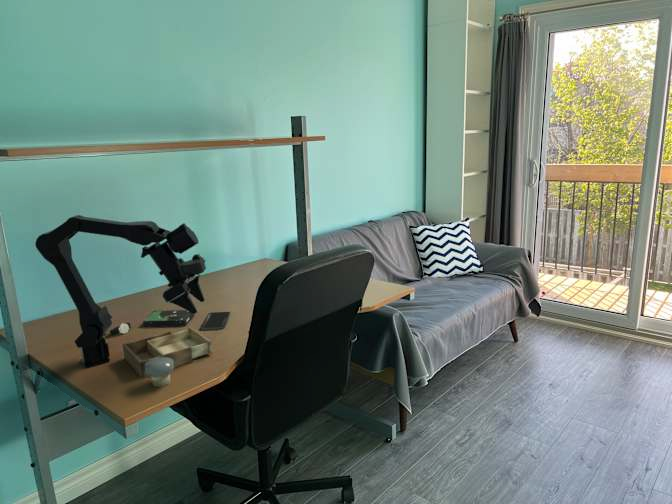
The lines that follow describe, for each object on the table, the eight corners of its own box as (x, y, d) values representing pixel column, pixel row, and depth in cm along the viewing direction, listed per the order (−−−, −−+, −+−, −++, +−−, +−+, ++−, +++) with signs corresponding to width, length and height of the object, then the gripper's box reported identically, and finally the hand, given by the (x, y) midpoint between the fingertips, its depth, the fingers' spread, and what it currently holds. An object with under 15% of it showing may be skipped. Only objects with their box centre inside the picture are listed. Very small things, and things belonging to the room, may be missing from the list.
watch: (117, 338, 161) (115, 327, 160) (106, 336, 162) (104, 326, 162) (134, 329, 168) (133, 319, 167) (124, 327, 169) (122, 317, 168)
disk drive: (195, 317, 179) (154, 317, 179) (194, 309, 178) (153, 310, 178) (186, 328, 169) (142, 328, 169) (185, 320, 168) (141, 320, 168)
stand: (156, 388, 127) (154, 376, 126) (150, 382, 130) (148, 370, 130) (173, 382, 130) (171, 370, 129) (166, 376, 133) (165, 364, 132)
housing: (142, 378, 133) (140, 362, 132) (124, 358, 145) (122, 344, 144) (192, 362, 141) (191, 347, 140) (171, 345, 153) (170, 331, 152)
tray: (165, 368, 137) (164, 354, 136) (147, 350, 148) (145, 338, 148) (215, 352, 146) (214, 340, 145) (194, 337, 157) (193, 325, 156)
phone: (199, 328, 164) (209, 312, 179) (200, 331, 164) (209, 315, 179) (223, 327, 164) (231, 311, 179) (224, 330, 165) (231, 314, 179)
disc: (151, 379, 124) (150, 372, 124) (141, 369, 130) (141, 362, 129) (178, 370, 129) (177, 363, 128) (168, 361, 134) (167, 354, 133)
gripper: (182, 256, 129) (216, 305, 133) (199, 239, 147) (228, 282, 151) (147, 277, 130) (182, 325, 134) (168, 258, 148) (198, 300, 152)
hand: (199, 307), depth 143 cm, fingers open, 9 cm apart
